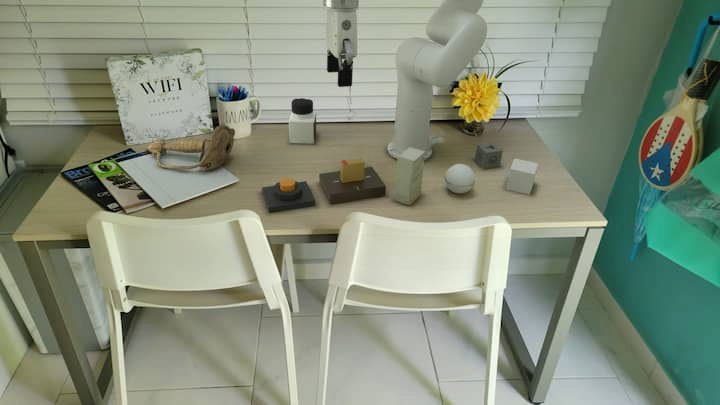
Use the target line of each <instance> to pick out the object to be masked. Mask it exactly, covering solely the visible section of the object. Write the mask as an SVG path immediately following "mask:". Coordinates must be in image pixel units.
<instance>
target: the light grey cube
mask: <svg viewBox="0 0 720 405" xmlns="http://www.w3.org/2000/svg"><path fill="white" fill-rule="evenodd" d="M538 167H539V163H537V162H533V161H528V160H523V159H519V158H513V161H512V164H511V166H510V168H509V173H508V177H507V182H506V187H505V190H507V191H512V192H516V193H520V194H524V195H528V196H530V195H531V192H532V190H533V187H534V183H535V178H536V175H537V171H538Z"/></svg>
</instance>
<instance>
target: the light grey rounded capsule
mask: <svg viewBox="0 0 720 405" xmlns="http://www.w3.org/2000/svg"><path fill="white" fill-rule="evenodd" d="M444 182H445V185H446V187H447V189H449V190H450V191H451V192H452V193H456V194H464V193H467V192H470V190H472V188H473V187H474V184H475V183H476V176H475V172H474V170H473V169H472V167H470V166H469V165H467V164H463V163H456V164H453V165H451V166H450V167H449V168H448V169H447V170H446V173H445V175H444Z"/></svg>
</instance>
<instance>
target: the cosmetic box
mask: <svg viewBox="0 0 720 405" xmlns="http://www.w3.org/2000/svg"><path fill="white" fill-rule="evenodd" d="M424 157H425V151H422V150H419V149H416V148H412V147H408V148H407V149H406V150H405V151H403V152H402V153H401V154H400V155H399V156H398V159H396V173H395V186H394V199H393V200H394V201H395V202H398V203H401V204H404V205H407V206H411V205H412V204H413V203H414V202H415V201H416V200H417V199H418V198H419V197H420V196H421V194H422V186H423V176H424V165H425V160H424Z"/></svg>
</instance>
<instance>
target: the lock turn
mask: <svg viewBox="0 0 720 405" xmlns="http://www.w3.org/2000/svg"><path fill="white" fill-rule="evenodd" d="M365 163H366V162H365V160H364V159H363V158H355V159H342V160H340V170H339V171H340V179H341V181H342V183H346V182H353V181H360V180H364V168H365V167H366V164H365Z"/></svg>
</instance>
